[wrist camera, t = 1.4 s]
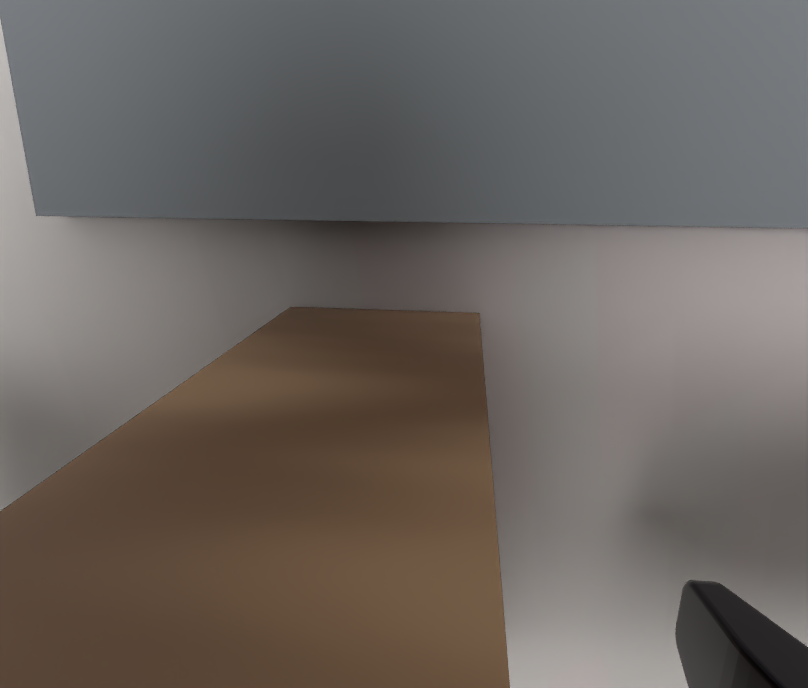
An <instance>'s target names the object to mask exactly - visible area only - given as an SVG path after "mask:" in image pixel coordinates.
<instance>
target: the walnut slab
mask: <svg viewBox="0 0 808 688" xmlns="http://www.w3.org/2000/svg"><path fill="white" fill-rule="evenodd" d="M0 688H510V682H509V670H508V658H507V646H506V634H505V621H504V609H503V597H502V585H501V573H500V560H499V548H498V536H497V524H496V511H495V499H494V487H493V475H492V463H491V450H490V438H489V426H488V414H487V402H486V389H485V377H484V365H483V353H482V341H481V328H480V316H479V313H464V312H434V311H404V310H374V309H344V308H315V307H290V308H288V309H287V310H286V311H284V312H283V313H281V314H280V315H278V316H277V317H276V318H274V319H273V320H271V321H270V322H269V323H267V324H266V325H264V326H263V327H261V328H260V329H259V330H257V331H256V332H254V333H253V334H252V335H250V336H249V337H247V338H246V339H244V340H243V341H242V342H240V343H239V344H237V345H236V346H234V347H233V348H232V349H230V350H229V351H227V352H226V353H225V354H223V355H222V356H220V357H219V358H217V359H216V360H215V361H213V362H212V363H210V364H209V365H207V366H206V367H205V368H203V369H202V370H200V371H199V372H198V373H196V374H195V375H193V376H192V377H190V378H189V379H188V380H186V381H185V382H183V383H182V384H181V385H179V386H178V387H176V388H175V389H173V390H172V391H171V392H169V393H168V394H166V395H165V396H163V397H162V398H161V399H159V400H158V401H156V402H155V403H154V404H152V405H151V406H149V407H148V408H146V409H145V410H144V411H142V412H141V413H139V414H138V415H136V416H135V417H134V418H132V419H131V420H129V421H128V422H127V423H125V424H124V425H122V426H121V427H119V428H118V429H117V430H115V431H114V432H112V433H111V434H109V435H108V436H107V437H105V438H104V439H102V440H101V441H100V442H98V443H97V444H95V445H94V446H92V447H91V448H90V449H88V450H87V451H85V452H84V453H83V454H81V455H80V456H78V457H77V458H75V459H74V460H73V461H71V462H70V463H68V464H67V465H65V466H64V467H63V468H61V469H60V470H58V471H57V472H56V473H54V474H53V475H51V476H50V477H48V478H47V479H46V480H44V481H43V482H41V483H40V484H38V485H37V486H36V487H34V488H33V489H31V490H30V491H29V492H27V493H26V494H24V495H23V496H21V497H20V498H19V499H17V500H16V501H14V502H13V503H12V504H10V505H9V506H7V507H6V508H4V509H3V510H2V511H0Z"/></svg>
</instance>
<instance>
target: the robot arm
mask: <svg viewBox="0 0 808 688" xmlns="http://www.w3.org/2000/svg"><path fill="white" fill-rule="evenodd" d="M675 635H676V644H677V648H678V652H679V655H680V659H681V663H682V666H683V670H684V673H685V677H686V680H687V684H688V687H689V688H808V647H807V646H805V645H804V644H803V643H801V642H800V641H799V640H797V639H796V638H794V637H793V636H792V635H790V634H789V633H788V632H786V631H785V630H784V629H782V628H781V627H779V626H778V625H777V624H775V623H774V622H773V621H771V620H770V619H768V618H767V617H766V616H764V615H763V614H762V613H760V612H759V611H757V610H756V609H755V608H753V607H752V606H751V605H749V604H748V603H747V602H745V601H744V600H742V599H741V598H740V597H738V596H737V595H736V594H734V593H733V592H731V591H730V590H729V589H727V588H726V587H725V586H723V585H721V584H720V583H717V582H709V581H696V580H690V581H688V582H686V583H685V585H684V587H683V591H682V596H681V601H680V607H679V612H678V618H677V623H676V632H675Z"/></svg>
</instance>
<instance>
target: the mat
mask: <svg viewBox="0 0 808 688" xmlns="http://www.w3.org/2000/svg"><path fill="white" fill-rule="evenodd" d="M0 19H1V24H2V30H3V35H4V41H5V46H6V52H7V57H8V63H9V68H10V74H11V79H12V85H13V90H14V96H15V101H16V107H17V113H18V118H19V124H20V129H21V135H22V140H23V146H24V151H25V157H26V162H27V168H28V173H29V179H30V184H31V190H32V195H33V201H34V207H35V212H36V216H78V217H139V218H201V219H263V220H324V221H386V222H448V223H509V224H571V225H632V226H694V227H756V228H808V0H0Z"/></svg>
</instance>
